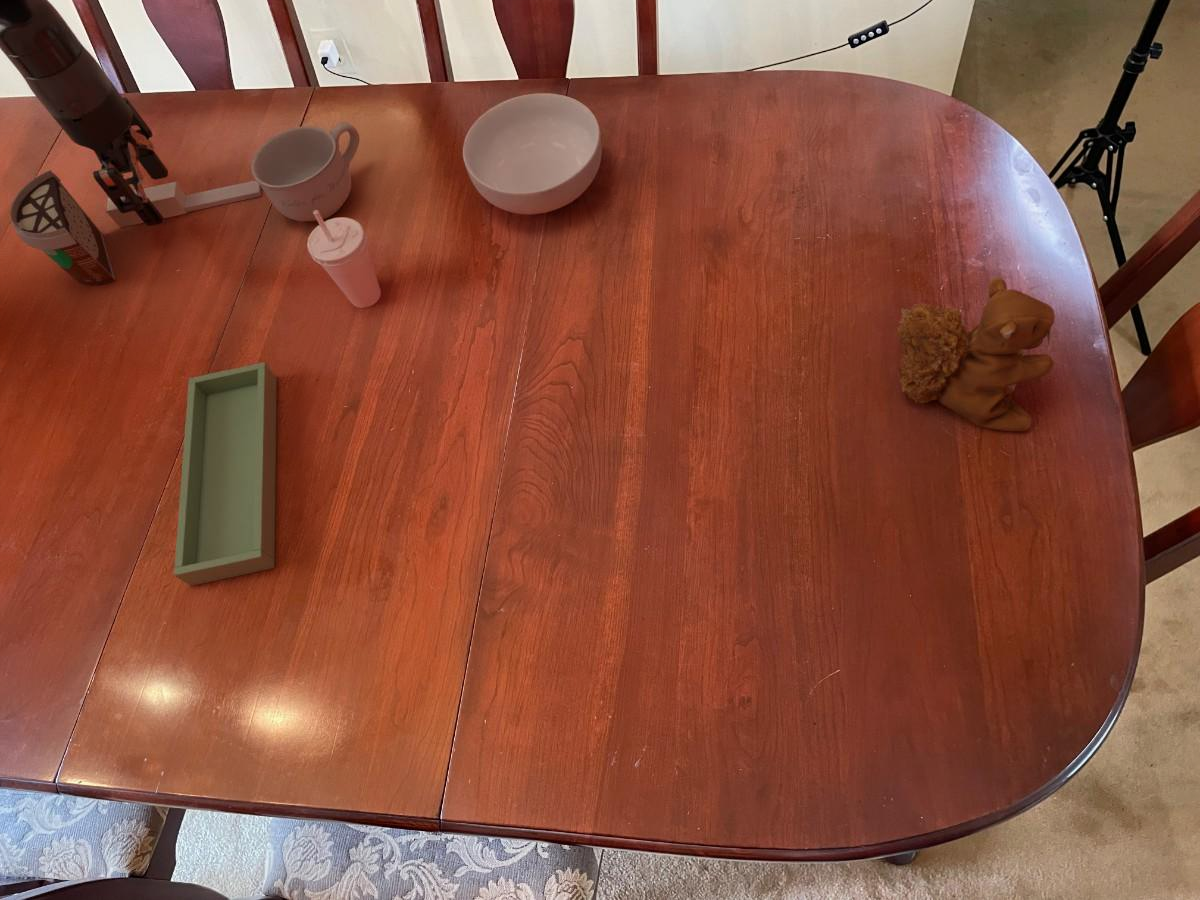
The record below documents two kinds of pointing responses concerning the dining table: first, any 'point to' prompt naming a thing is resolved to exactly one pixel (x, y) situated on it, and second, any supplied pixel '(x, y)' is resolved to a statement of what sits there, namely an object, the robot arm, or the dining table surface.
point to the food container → (61, 230)
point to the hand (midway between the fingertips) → (158, 199)
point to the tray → (228, 476)
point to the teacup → (306, 170)
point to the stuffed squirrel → (976, 356)
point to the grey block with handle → (184, 200)
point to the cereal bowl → (533, 152)
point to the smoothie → (345, 258)
